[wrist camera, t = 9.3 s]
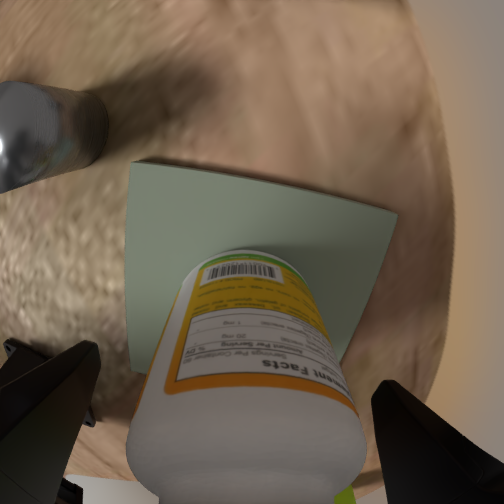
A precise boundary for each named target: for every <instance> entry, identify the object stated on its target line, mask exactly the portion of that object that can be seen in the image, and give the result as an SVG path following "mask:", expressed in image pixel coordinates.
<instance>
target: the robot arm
mask: <svg viewBox="0 0 504 504" xmlns="http://www.w3.org/2000/svg"><path fill="white" fill-rule="evenodd" d="M3 345H4V348H5V351H6V353H7V356H8V360H7V361H6V362H5V363H4V365H3V366H2V367H1V369H0V504H83V488H81V487H80V486H78V485H76V484H73V483H71V482H69V481H68V480H66V479H65V478H63V474H64V471H65V469H66V466H67V463H68V460H69V457H70V454H71V452H72V449H73V446H74V444H75V441H76V438H77V436H78V433H79V431H80V428H81V426H82V424H84V425H86V426H89V427H94V426H95V424H96V421H95V418H94V416H93V413H92V410H91V407H90V401H91V398H92V394H93V391H94V388H95V384H96V381H97V378H98V375H99V371H100V368H101V360H100V355H99V350H98V345H97V344H96V343H94V342H91V341H88V340H83V341H81V342H80V343H78V344H76V345H74V346H73V347H71V348H69V349H67V350H66V351H64V352H62V353H60V354H59V355H57V356H55V357H53V358H52V359H51V358H49V357H46V356H44V355H42V354H39V353H37V352H35V351H32V350H30V349H28V348H26V347H24V346H21V345H19V344H17V343H15V342H13V341H11V340H9V339H7V340H6V341H5V342H4V343H3ZM371 406H372V414H373V422H374V431H375V438H376V444H377V448H378V453H379V458H380V463H381V468H382V473H383V478H384V484H385V489H386V495H387V501H388V504H504V463H502V462H501V461H499V460H498V459H496V458H494V457H493V456H491V455H490V454H488V453H487V452H485V451H483V450H482V449H481V448H479V447H478V446H476V445H475V444H474V443H473V442H471V441H470V440H468V439H467V438H466V437H465V436H463V435H462V434H461V433H460V432H458V431H457V430H456V429H455V428H454V427H452V426H451V425H450V424H448V423H447V422H446V421H445V420H443V419H442V418H441V417H440V416H438V415H437V414H436V413H435V412H433V411H432V410H431V409H430V408H428V407H427V406H426V405H425V404H423V403H422V402H421V401H420V400H419V399H417V398H416V397H415V396H414V395H412V394H411V393H410V392H409V391H407V390H406V389H405V388H404V387H402V386H401V385H400V384H399V383H397V382H396V381H395V380H383V381H382V382H381V383H380V385H379V386H378V388H377V389H376V391H375V392H374V394H373V395H372V398H371Z"/></svg>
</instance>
